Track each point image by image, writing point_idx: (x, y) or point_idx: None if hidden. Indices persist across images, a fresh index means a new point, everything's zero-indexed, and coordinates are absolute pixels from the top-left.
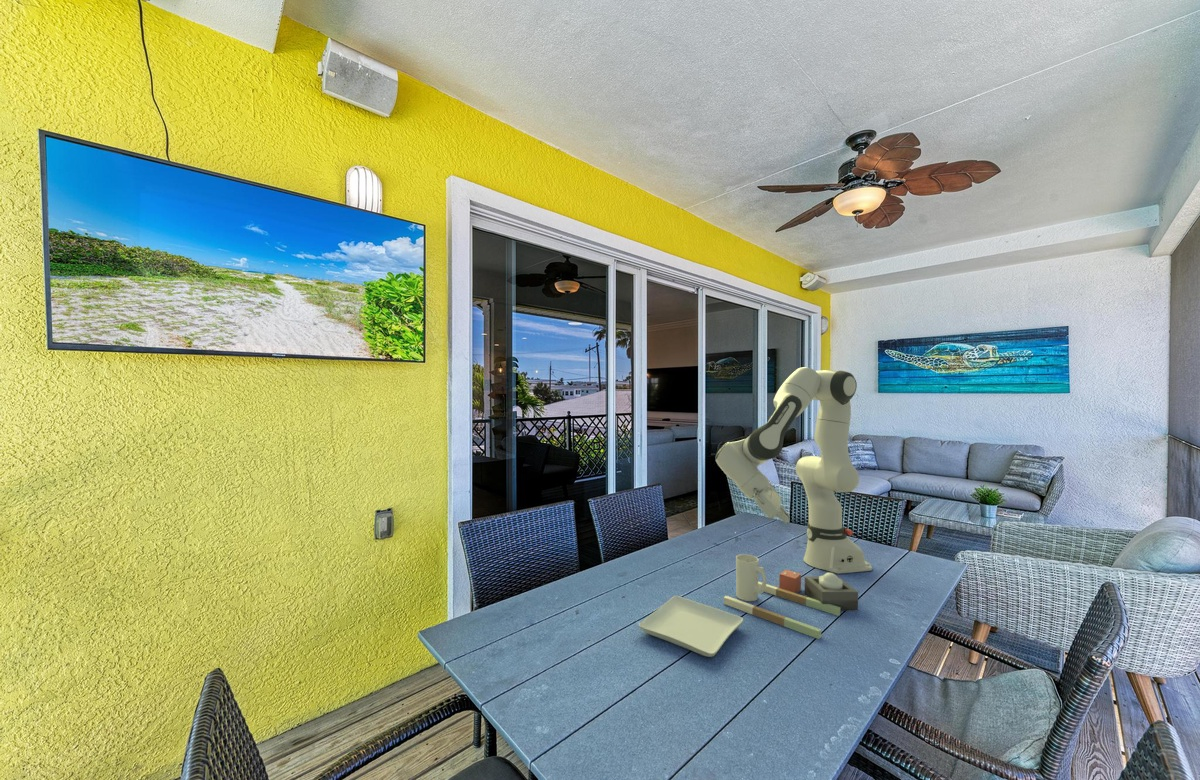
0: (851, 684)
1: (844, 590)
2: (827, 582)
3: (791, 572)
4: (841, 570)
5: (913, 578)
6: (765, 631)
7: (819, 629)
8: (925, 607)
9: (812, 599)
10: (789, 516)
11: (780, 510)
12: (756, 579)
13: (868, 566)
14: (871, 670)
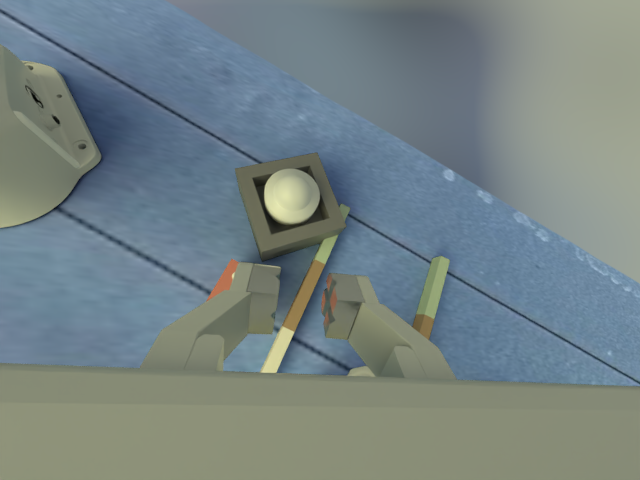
0: (524, 241)
1: (320, 177)
2: (314, 204)
3: (226, 285)
4: (91, 143)
5: (101, 15)
6: (457, 354)
7: (442, 258)
8: (256, 63)
9: (324, 250)
10: (261, 264)
11: (445, 367)
12: None
13: (43, 70)
14: (484, 209)
